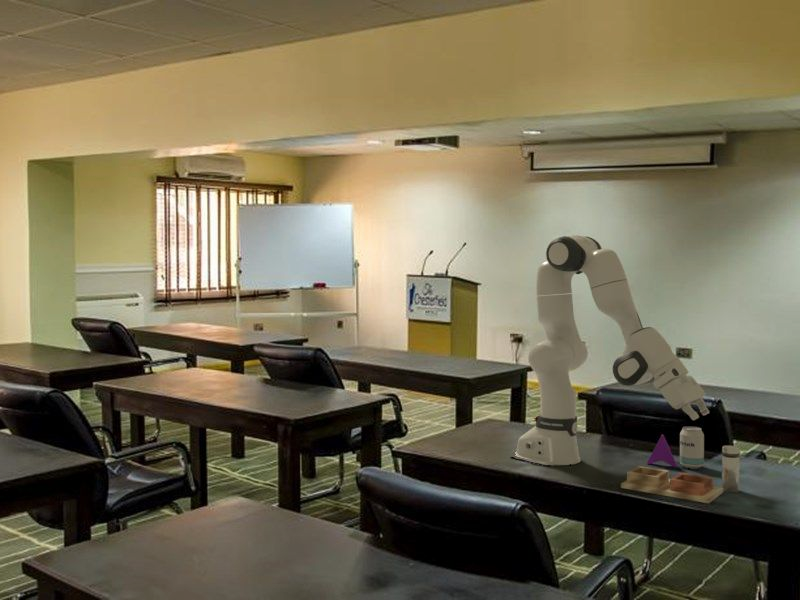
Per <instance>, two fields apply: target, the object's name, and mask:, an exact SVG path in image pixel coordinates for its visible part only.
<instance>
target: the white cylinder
mask: <svg viewBox="0 0 800 600" xmlns="http://www.w3.org/2000/svg"><path fill="white" fill-rule="evenodd" d="M721 449H722V450H721V456H722V458H721V487H722V488H723V492H726V493H731V492H734V493H735V492H736V493H739V492H740V457H741V450H740V447H738V446H736V445H723V446H722V448H721ZM734 493H733V494H734Z"/></svg>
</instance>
